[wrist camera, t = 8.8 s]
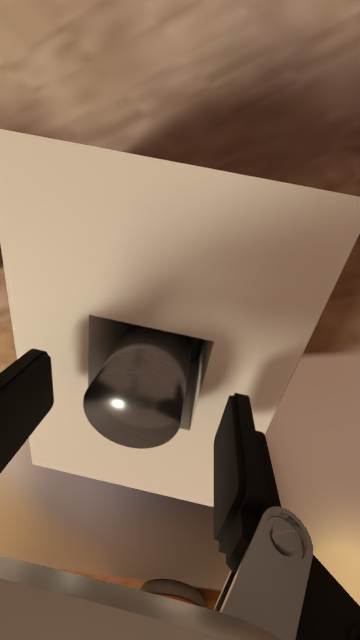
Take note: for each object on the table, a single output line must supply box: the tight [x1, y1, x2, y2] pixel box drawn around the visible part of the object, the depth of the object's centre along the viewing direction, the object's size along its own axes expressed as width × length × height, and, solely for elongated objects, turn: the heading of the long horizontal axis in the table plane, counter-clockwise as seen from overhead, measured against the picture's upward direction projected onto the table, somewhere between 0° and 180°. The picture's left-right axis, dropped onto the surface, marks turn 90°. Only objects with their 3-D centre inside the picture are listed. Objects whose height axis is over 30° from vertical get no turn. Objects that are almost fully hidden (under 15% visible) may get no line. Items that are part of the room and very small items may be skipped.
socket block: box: [0, 129, 360, 507], centre depth 16 cm, size 18×13×10 cm
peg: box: [83, 324, 193, 449], centre depth 13 cm, size 4×4×8 cm
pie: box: [140, 579, 206, 608], centre depth 43 cm, size 15×16×5 cm
